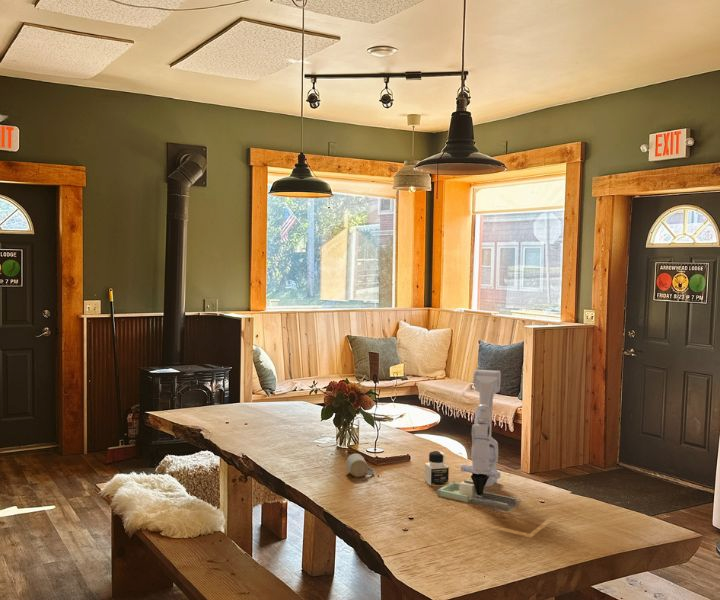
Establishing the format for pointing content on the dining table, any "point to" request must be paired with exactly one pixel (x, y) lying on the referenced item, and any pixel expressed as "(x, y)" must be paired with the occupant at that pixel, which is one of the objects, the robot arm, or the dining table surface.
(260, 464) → the dining table surface
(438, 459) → the medicine bottle
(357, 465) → the ceramic mug
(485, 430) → the robot arm
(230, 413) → the dining table surface
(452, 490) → the tray
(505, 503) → the dock
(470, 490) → the beige cardboard box
